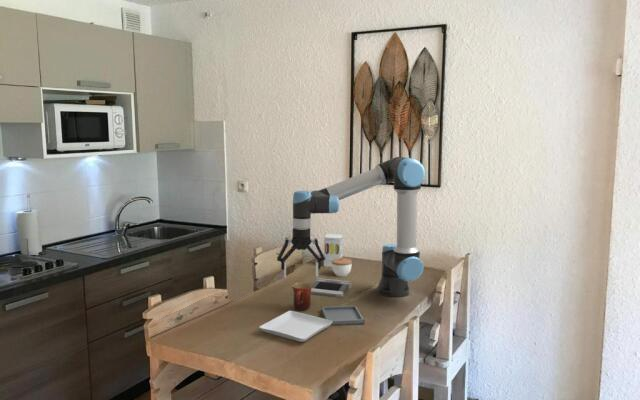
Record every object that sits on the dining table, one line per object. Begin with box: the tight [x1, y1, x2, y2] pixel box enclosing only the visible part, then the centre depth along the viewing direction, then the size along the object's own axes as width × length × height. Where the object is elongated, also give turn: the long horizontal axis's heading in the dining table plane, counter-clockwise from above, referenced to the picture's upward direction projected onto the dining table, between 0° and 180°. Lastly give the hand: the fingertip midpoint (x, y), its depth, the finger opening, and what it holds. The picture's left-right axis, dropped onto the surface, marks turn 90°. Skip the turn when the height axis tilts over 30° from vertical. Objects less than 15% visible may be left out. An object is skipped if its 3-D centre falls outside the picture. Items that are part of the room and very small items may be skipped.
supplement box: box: [323, 233, 344, 268], centre depth 306 cm, size 10×9×17 cm
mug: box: [291, 282, 313, 312], centre depth 234 cm, size 12×9×10 cm
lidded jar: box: [331, 256, 353, 277], centre depth 287 cm, size 11×11×9 cm
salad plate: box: [259, 310, 332, 343], centre depth 212 cm, size 21×21×3 cm
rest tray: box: [321, 305, 365, 327], centre depth 226 cm, size 15×17×2 cm
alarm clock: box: [311, 277, 352, 298], centre depth 262 cm, size 17×5×16 cm
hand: (300, 276), depth 233 cm, fingers open, 13 cm apart
